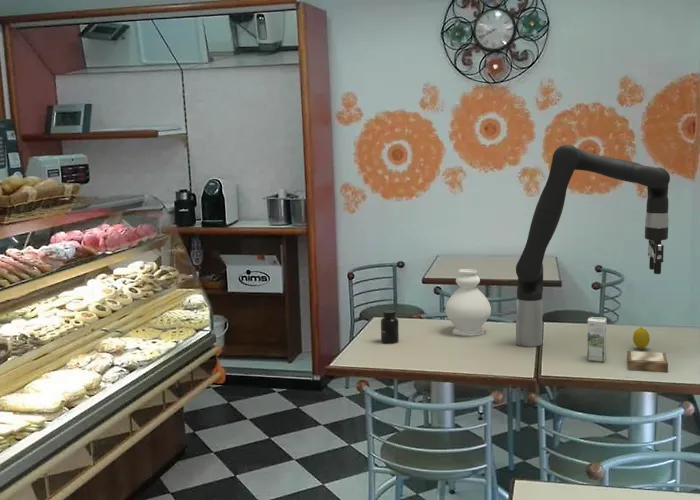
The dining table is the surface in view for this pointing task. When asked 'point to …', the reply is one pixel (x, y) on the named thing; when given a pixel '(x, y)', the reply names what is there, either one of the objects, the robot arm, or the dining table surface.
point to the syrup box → (596, 339)
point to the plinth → (647, 361)
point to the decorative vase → (468, 305)
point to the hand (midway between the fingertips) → (654, 271)
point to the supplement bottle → (389, 327)
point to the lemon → (641, 338)
